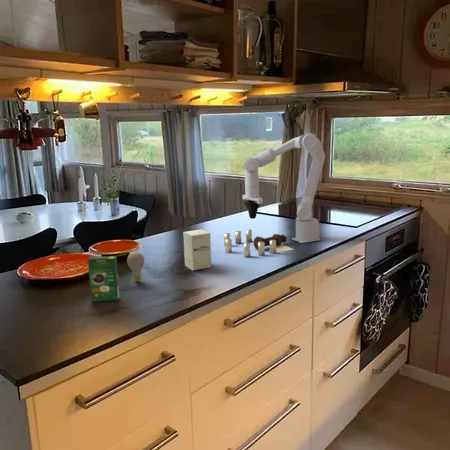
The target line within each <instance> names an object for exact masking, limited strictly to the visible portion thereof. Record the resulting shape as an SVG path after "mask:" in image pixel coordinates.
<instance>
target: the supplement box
mask: <svg viewBox="0 0 450 450" xmlns="http://www.w3.org/2000/svg"><path fill="white" fill-rule="evenodd" d="M182 235H183V255H184V267H187V268H188V269H189V270H191V271H197V270H201V269H208V268H212V251H211V250H212V249H211V245H212V244H211V243H212V242H211V232H208V231H207V230H204V229H195V230H188V231H183V233H182Z"/></svg>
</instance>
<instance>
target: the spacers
mask: <svg viewBox="0 0 450 450" xmlns="http://www.w3.org/2000/svg"><path fill="white" fill-rule="evenodd" d="M234 233H235V234H234V235H235V237H234V238H235V240H234V241H235V244H236V245H241V244H242V231H241V230H236V231H235V232H234ZM245 238H246V239H245V241H246V242H245V243H243V257H244V258H251V243H253V231H252V229H246V230H245ZM223 239H224V241H223V243H224V247H225V254H231V253H233V245H232V243H233V242H232V239H231V234H230V233H228V232H227V233H226V232H225V233H224V234H223ZM265 248H266V246H265V245H264V242H258V250H257V255H258V257H264V256H265V253H266V252H265ZM269 254H270V255H275V254H277V251H276V240H270V248H269Z"/></svg>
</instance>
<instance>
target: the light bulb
mask: <svg viewBox="0 0 450 450" xmlns="http://www.w3.org/2000/svg"><path fill="white" fill-rule="evenodd" d="M126 263H127V266H128V267H129V269H130V270H131V271H132V273H133V281H134V282H136V283H139V282H140V281H141V275H142V274H141V271H142V268H143V266H144V264H145V257H144V255H143V254H142V253H141V252H139V251H133V252H131V253H130V254H128V256H127V259H126Z"/></svg>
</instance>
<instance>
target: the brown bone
mask: <svg viewBox="0 0 450 450" xmlns="http://www.w3.org/2000/svg"><path fill="white" fill-rule="evenodd" d="M270 240H276V246H279V245H281V244H283V243H286V242H287V240H288V237H287V236H286V235H285V234H278V233H275V234H272V236H271V237H270V236H269V237H266V238H265V237H262V236H256V237H255V238H253V247H254V248H255V250H256V251H258V242H264V245H265V247H266V246H269V245H270Z"/></svg>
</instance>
